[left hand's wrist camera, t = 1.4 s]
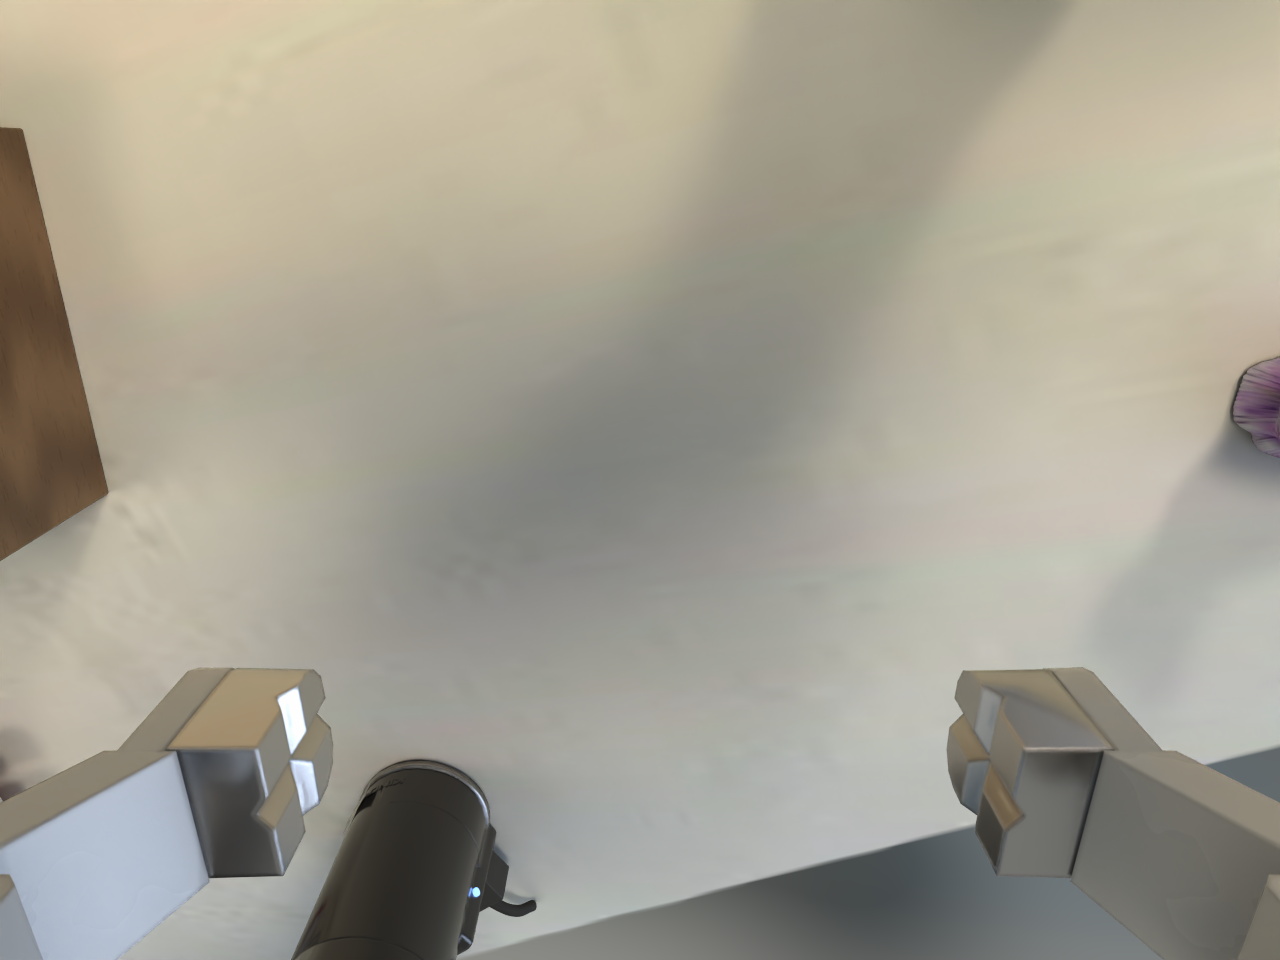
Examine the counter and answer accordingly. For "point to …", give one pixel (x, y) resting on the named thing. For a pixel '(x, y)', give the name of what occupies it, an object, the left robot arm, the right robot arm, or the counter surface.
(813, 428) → the counter surface
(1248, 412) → the figurine
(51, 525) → the box
